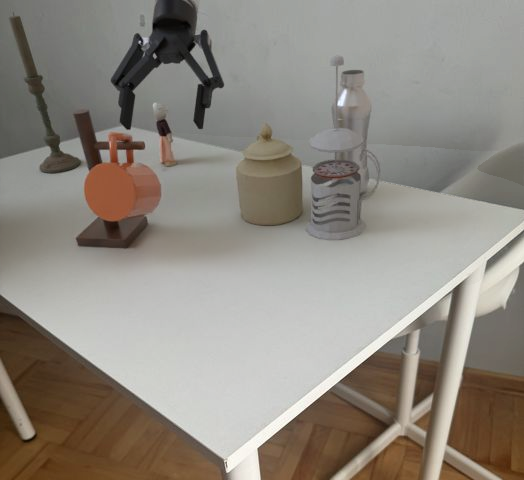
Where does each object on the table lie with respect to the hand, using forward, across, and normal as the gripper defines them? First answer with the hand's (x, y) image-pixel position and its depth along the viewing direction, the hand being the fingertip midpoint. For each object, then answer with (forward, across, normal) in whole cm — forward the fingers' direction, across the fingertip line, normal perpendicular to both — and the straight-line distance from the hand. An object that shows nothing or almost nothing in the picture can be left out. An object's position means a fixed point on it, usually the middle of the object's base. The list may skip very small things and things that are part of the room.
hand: (160, 125), depth 92 cm
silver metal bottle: (+6, -32, -14) cm, 35 cm away
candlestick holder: (-3, +35, -23) cm, 42 cm away
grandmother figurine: (-4, +9, -24) cm, 26 cm away
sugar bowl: (+11, -18, -9) cm, 23 cm away
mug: (+16, 0, +14) cm, 21 cm away
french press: (+15, -32, -5) cm, 36 cm away
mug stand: (+20, +4, 0) cm, 20 cm away
